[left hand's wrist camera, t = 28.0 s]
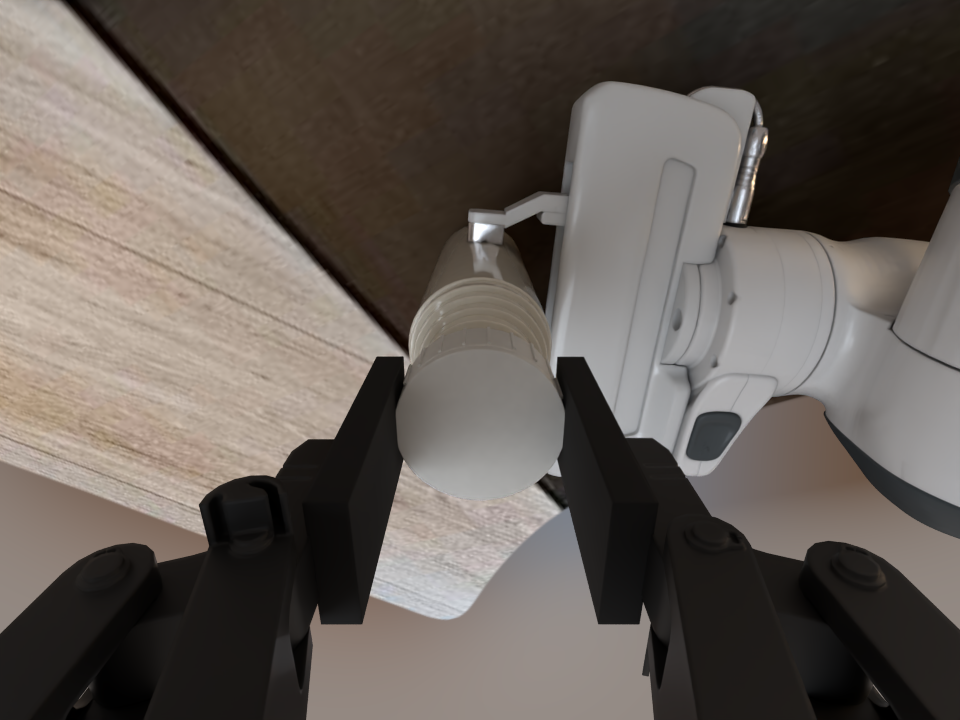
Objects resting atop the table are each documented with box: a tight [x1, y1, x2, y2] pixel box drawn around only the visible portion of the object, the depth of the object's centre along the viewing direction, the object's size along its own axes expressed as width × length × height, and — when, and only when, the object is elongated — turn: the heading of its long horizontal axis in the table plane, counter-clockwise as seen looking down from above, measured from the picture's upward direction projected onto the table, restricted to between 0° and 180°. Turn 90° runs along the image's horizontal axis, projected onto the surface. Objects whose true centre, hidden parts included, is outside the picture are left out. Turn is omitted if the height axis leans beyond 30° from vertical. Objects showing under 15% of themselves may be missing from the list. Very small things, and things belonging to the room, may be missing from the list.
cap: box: [396, 327, 565, 500], centre depth 14 cm, size 5×5×2 cm
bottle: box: [409, 226, 552, 365], centre depth 23 cm, size 5×5×20 cm
